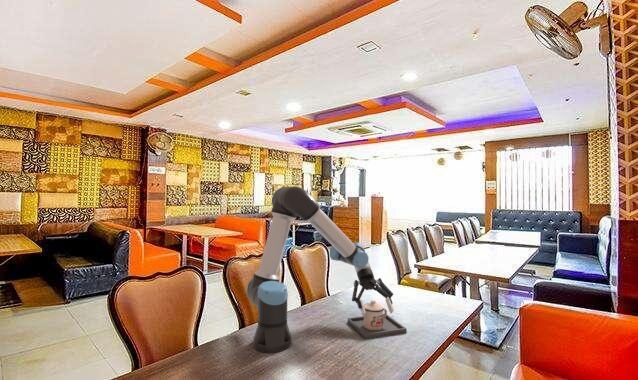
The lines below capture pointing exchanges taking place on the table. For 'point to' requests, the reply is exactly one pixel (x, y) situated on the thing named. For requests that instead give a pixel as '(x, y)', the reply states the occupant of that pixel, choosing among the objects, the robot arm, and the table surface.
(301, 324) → the table surface
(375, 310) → the teacup with lid
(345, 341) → the table surface
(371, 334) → the tea tray
